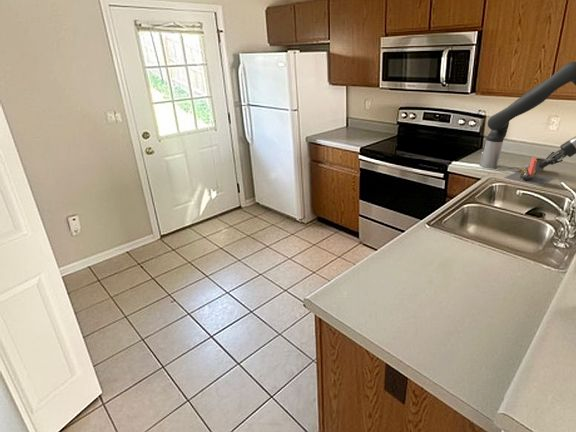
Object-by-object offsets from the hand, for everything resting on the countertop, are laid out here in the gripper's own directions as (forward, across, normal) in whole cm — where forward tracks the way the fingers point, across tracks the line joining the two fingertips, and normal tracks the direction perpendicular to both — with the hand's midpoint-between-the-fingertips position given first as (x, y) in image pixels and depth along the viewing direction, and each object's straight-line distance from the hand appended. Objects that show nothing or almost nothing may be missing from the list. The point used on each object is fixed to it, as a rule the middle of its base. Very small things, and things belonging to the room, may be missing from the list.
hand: (540, 167), depth 196 cm
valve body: (+8, -12, +5) cm, 16 cm away
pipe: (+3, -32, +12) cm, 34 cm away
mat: (+8, -12, +7) cm, 16 cm away
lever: (+5, -6, +1) cm, 8 cm away
